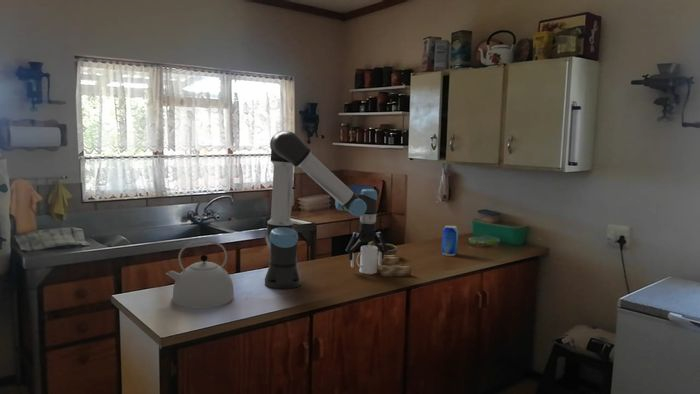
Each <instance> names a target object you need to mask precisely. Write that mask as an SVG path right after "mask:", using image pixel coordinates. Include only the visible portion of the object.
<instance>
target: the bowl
mask: <svg viewBox="0 0 700 394" xmlns="http://www.w3.org/2000/svg"><path fill="white" fill-rule="evenodd" d="M378 244H379V245H380V247H381V248H382V249H383V246H382V244H381V242H380V243H378ZM367 245H372V246H376V245H375V244H374V243H373V241H371V242H367ZM385 245H386V247H387V249H388V251H387V252H385V253H384V255H396V256H397V250H398V246H396V245H394V244H391V243H385ZM376 247H377V246H376ZM379 252H381V251H380V250H379V249H378V255H377V256H379Z"/></svg>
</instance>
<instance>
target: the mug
mask: <svg viewBox="0 0 700 394" xmlns="http://www.w3.org/2000/svg"><path fill="white" fill-rule="evenodd" d="M372 245H373V244H372ZM372 245H368V244H367V245H361V246H360V251H359V252H358V253H357V255H356V257H355V258H356V259H355V261H356V264H357V266H358V267H359V271H358V272H359V273H361V274H364V273H365V275H375V274H377V273H378V272H377V255H378V247H376V246H372ZM359 256H360V257H359ZM359 258H360V259H359ZM358 260H360V261H358ZM374 273H375V274H374Z"/></svg>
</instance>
